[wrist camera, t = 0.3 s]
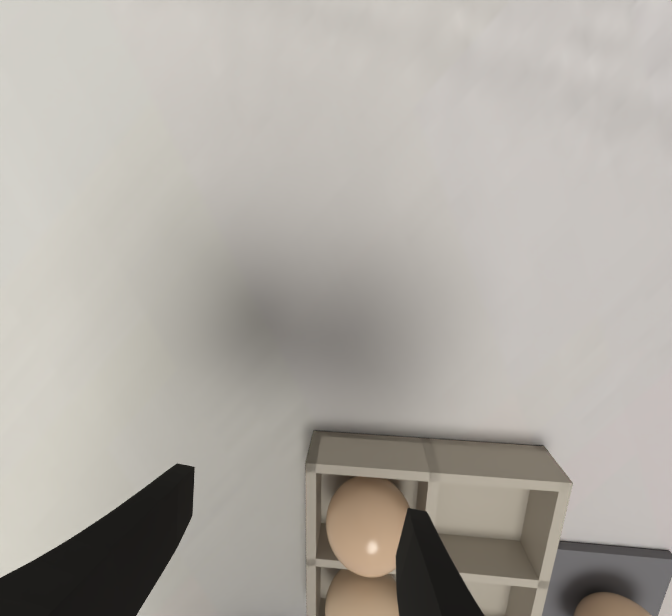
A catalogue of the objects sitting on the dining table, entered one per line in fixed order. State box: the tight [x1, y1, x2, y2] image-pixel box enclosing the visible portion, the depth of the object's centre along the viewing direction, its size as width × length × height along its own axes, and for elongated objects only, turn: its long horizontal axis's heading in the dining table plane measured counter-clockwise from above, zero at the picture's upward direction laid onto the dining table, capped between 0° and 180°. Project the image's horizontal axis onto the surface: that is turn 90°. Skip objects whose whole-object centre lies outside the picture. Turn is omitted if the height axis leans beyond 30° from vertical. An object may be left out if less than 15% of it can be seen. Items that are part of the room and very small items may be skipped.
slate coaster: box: [542, 541, 672, 616], centre depth 23 cm, size 8×8×1 cm
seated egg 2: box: [325, 569, 399, 616], centre depth 21 cm, size 5×5×5 cm
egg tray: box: [305, 431, 573, 616], centre depth 22 cm, size 14×14×3 cm
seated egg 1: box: [326, 476, 410, 577], centre depth 20 cm, size 5×5×5 cm
